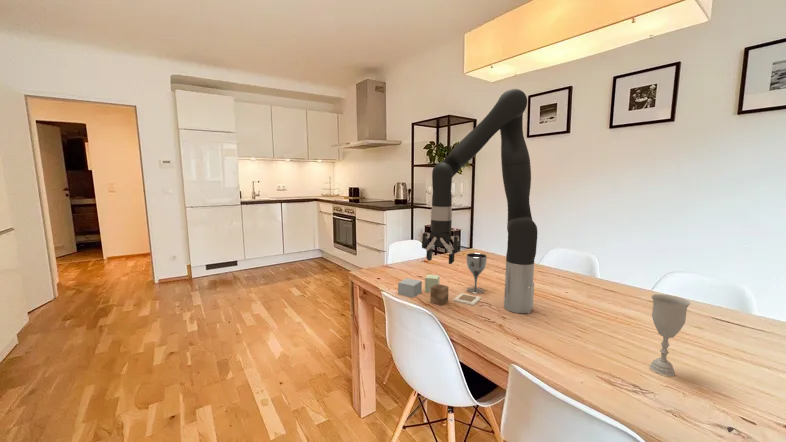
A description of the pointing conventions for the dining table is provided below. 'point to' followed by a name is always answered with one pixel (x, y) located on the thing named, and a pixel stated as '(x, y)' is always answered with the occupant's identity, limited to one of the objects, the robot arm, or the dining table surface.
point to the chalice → (667, 326)
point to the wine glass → (476, 268)
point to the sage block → (431, 282)
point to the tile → (467, 299)
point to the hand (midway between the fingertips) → (439, 261)
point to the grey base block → (409, 287)
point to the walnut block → (439, 294)
